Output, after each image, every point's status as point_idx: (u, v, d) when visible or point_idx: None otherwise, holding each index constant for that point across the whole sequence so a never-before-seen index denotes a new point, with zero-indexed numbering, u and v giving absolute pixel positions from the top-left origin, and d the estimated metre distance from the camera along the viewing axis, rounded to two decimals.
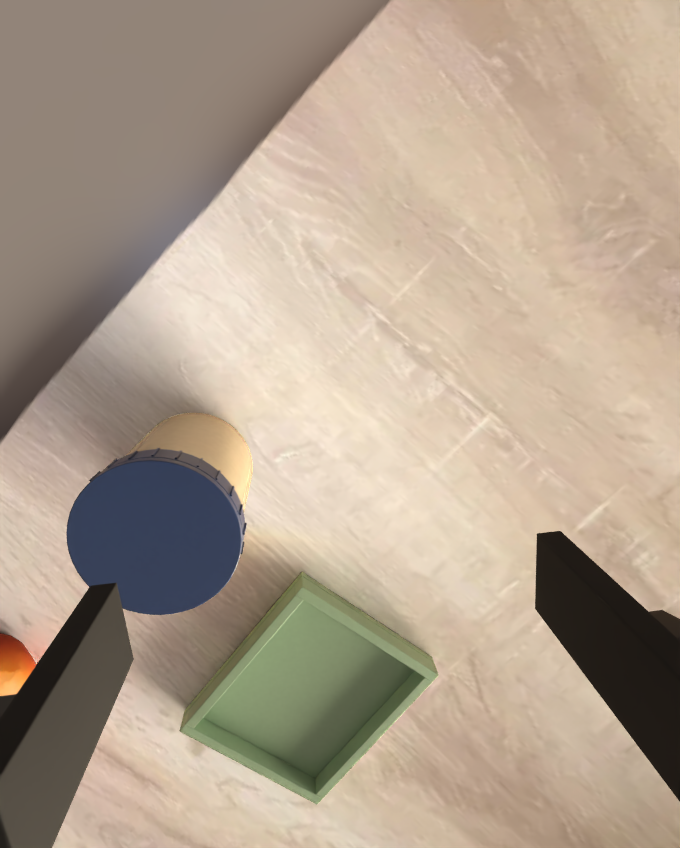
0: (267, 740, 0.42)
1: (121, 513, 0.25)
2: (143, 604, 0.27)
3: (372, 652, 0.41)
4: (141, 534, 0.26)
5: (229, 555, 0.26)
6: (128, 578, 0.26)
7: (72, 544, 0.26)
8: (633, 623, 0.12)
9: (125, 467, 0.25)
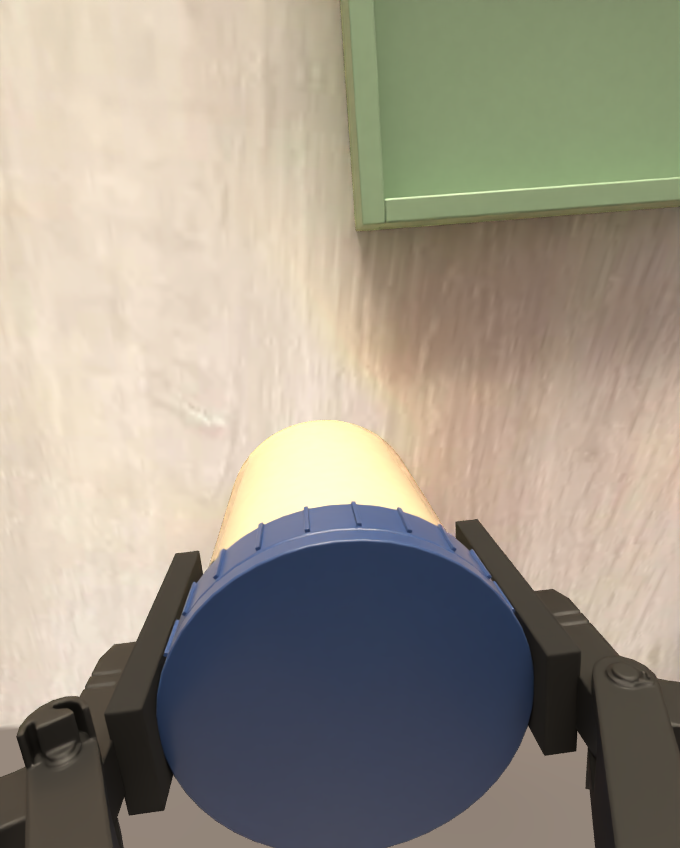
0: None
1: (345, 788, 0.12)
2: (497, 635, 0.11)
3: None
4: (357, 738, 0.12)
5: (266, 586, 0.11)
6: (461, 694, 0.12)
7: (462, 802, 0.13)
8: (515, 599, 0.13)
9: (260, 838, 0.12)
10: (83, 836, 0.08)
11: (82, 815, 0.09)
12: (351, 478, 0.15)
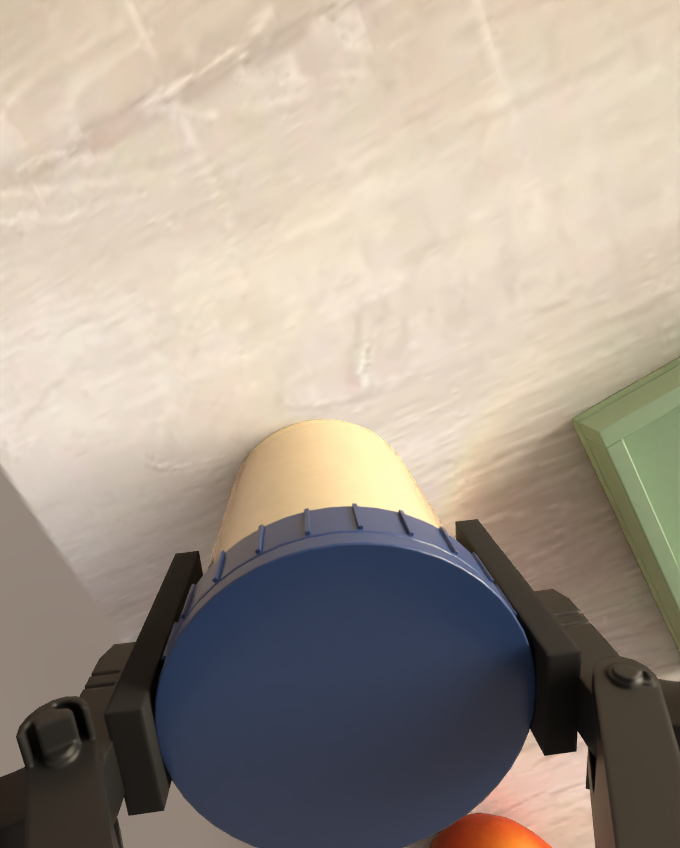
0: None
1: (345, 792, 0.12)
2: (499, 640, 0.11)
3: None
4: (357, 743, 0.12)
5: (266, 589, 0.10)
6: (462, 699, 0.12)
7: (463, 807, 0.12)
8: (515, 598, 0.13)
9: (258, 843, 0.12)
10: (83, 836, 0.08)
11: (82, 815, 0.08)
12: None
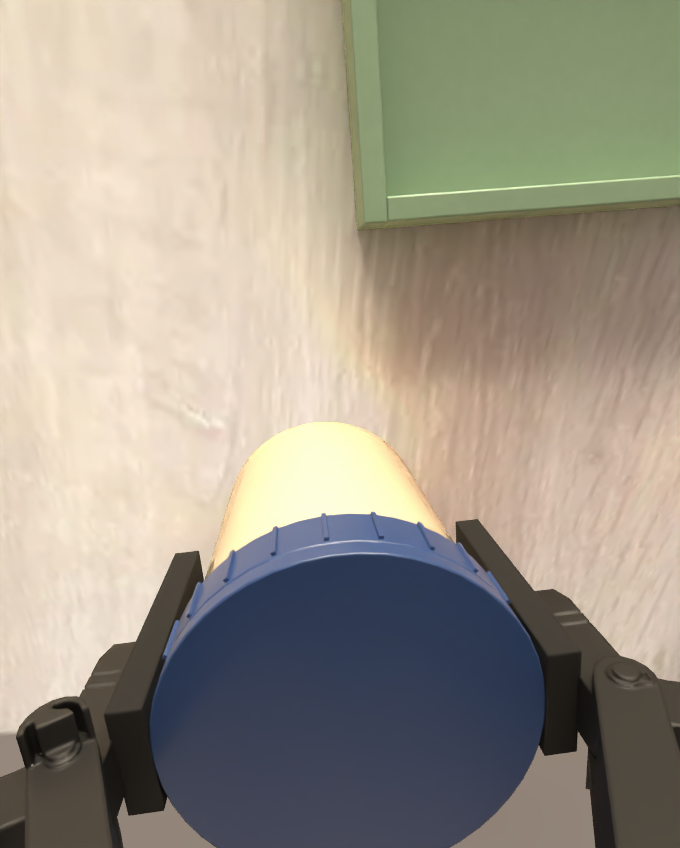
0: None
1: (442, 757, 0.11)
2: (327, 582, 0.10)
3: None
4: (388, 734, 0.11)
5: (179, 765, 0.11)
6: (384, 632, 0.10)
7: (525, 660, 0.11)
8: (515, 598, 0.13)
9: (459, 837, 0.12)
10: (83, 836, 0.08)
11: (82, 815, 0.08)
12: (352, 482, 0.14)
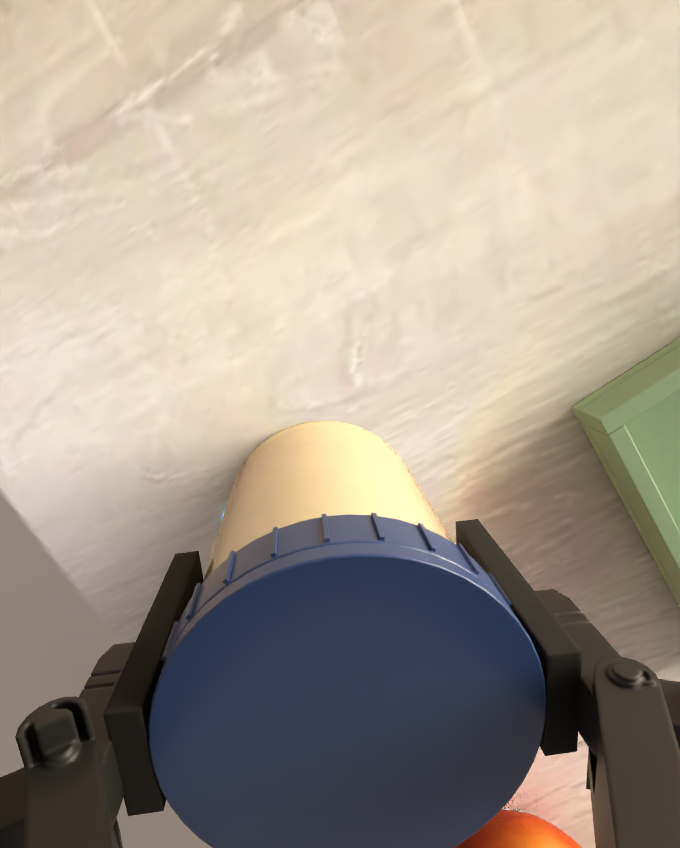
0: None
1: (442, 759, 0.11)
2: (327, 584, 0.10)
3: None
4: (388, 736, 0.11)
5: (178, 767, 0.11)
6: (384, 634, 0.10)
7: (526, 662, 0.11)
8: (516, 598, 0.13)
9: (459, 839, 0.12)
10: (82, 836, 0.08)
11: (81, 815, 0.08)
12: None
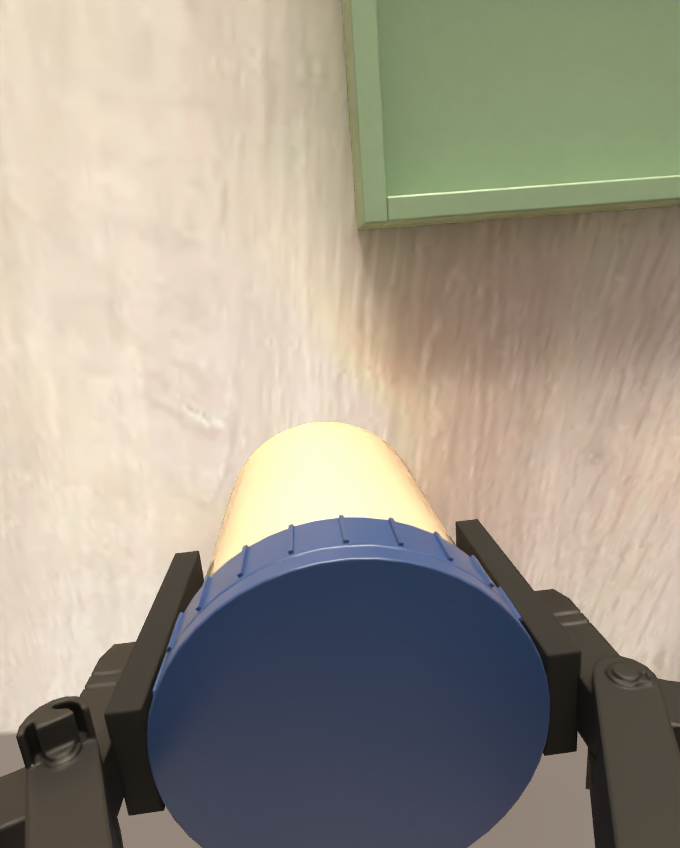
0: None
1: (427, 673, 0.11)
2: (176, 723, 0.10)
3: None
4: (372, 713, 0.11)
5: None
6: (251, 691, 0.10)
7: (345, 572, 0.10)
8: (515, 598, 0.13)
9: (539, 679, 0.11)
10: (83, 836, 0.08)
11: (82, 815, 0.08)
12: (352, 482, 0.14)
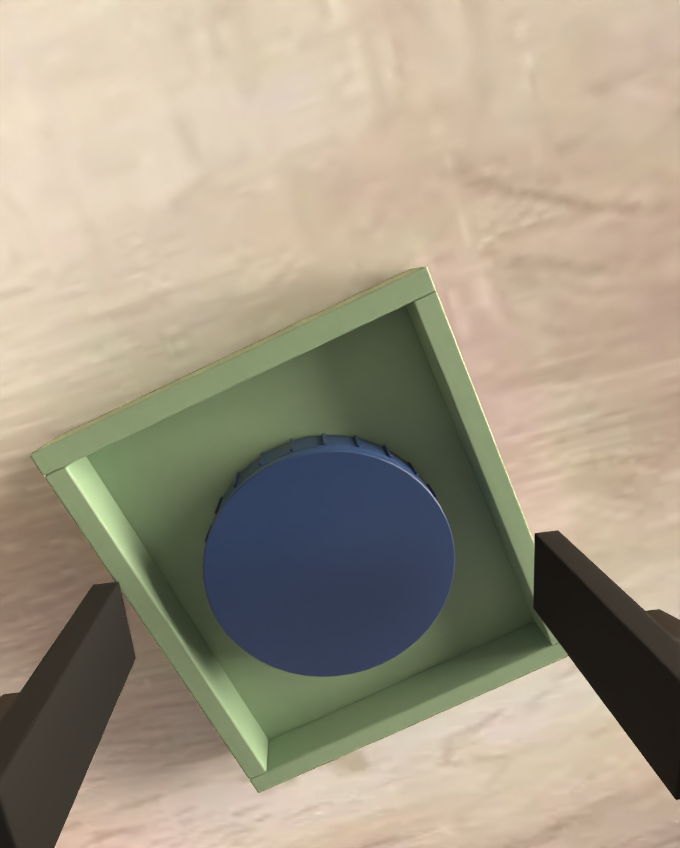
0: (397, 660, 0.21)
1: (375, 526, 0.17)
2: (221, 556, 0.17)
3: (313, 387, 0.18)
4: (342, 552, 0.17)
5: (310, 663, 0.18)
6: (267, 535, 0.17)
7: (324, 459, 0.16)
8: (630, 622, 0.12)
9: (446, 532, 0.17)
10: None
11: None
12: None
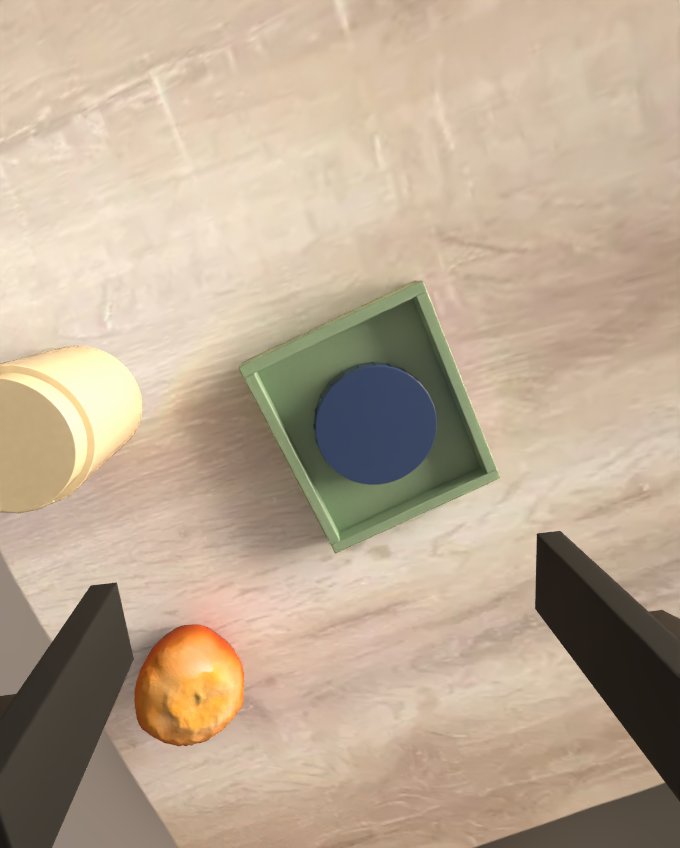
0: (407, 487, 0.39)
1: (398, 405, 0.36)
2: (324, 418, 0.35)
3: (367, 338, 0.36)
4: (381, 418, 0.36)
5: (364, 477, 0.37)
6: (346, 408, 0.35)
7: (374, 370, 0.35)
8: (633, 623, 0.12)
9: (432, 408, 0.36)
10: None
11: None
12: (105, 410, 0.30)
